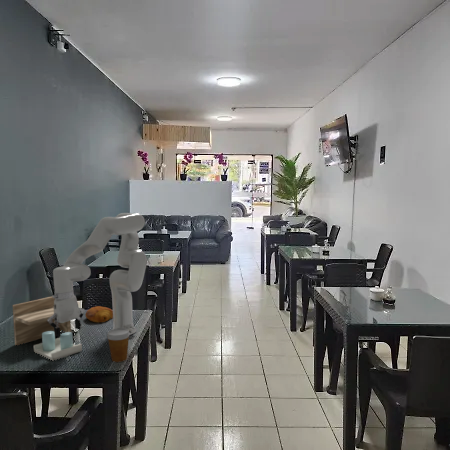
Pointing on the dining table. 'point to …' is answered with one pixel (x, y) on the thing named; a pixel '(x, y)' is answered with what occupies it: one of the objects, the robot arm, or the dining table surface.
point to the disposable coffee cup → (118, 344)
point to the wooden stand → (34, 320)
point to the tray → (57, 351)
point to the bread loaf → (99, 314)
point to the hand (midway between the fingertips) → (68, 332)
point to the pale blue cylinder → (66, 340)
